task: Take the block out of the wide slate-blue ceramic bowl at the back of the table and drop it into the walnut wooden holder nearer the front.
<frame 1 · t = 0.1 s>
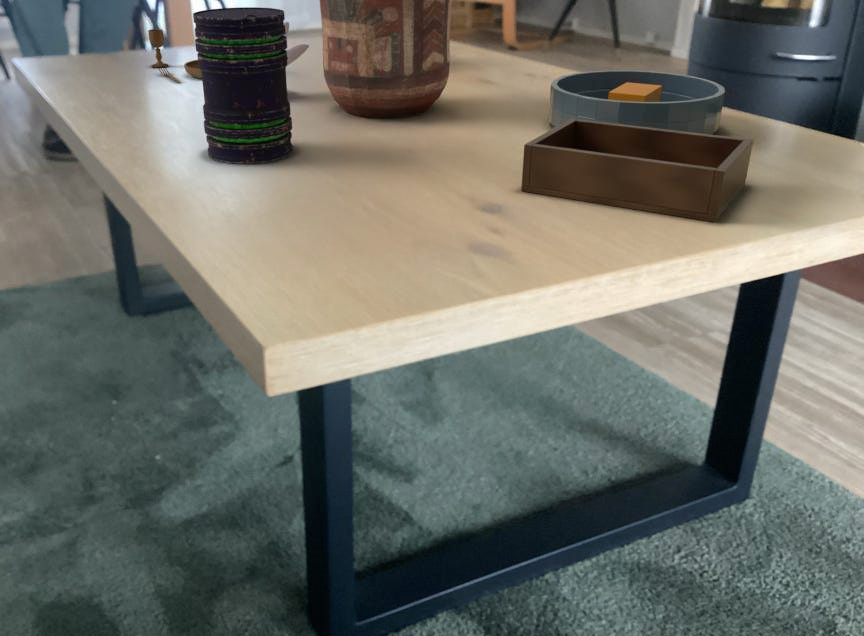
block: (631, 121, 108), point 1 cm above the table, touching bowl
pottery: (387, 110, 118), on the table
storage jar: (250, 153, 99), on the table
bowl: (631, 126, 108), on the table
holder: (633, 188, 85), on the table
place setting: (213, 71, 145), on the table
water lily: (263, 98, 126), on the table
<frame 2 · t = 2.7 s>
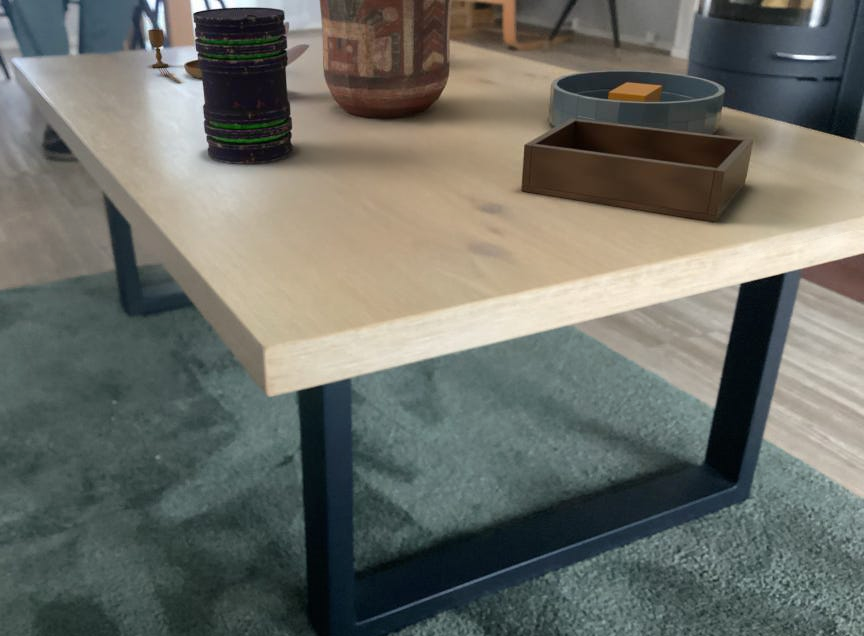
nothing on the table moved.
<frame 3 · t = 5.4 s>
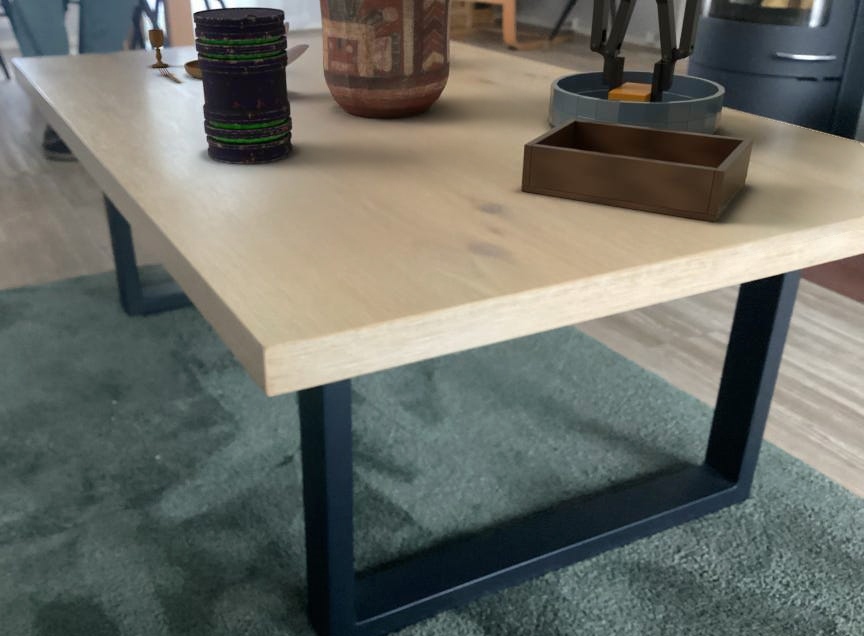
hand: (632, 114, 107), 1 cm above the table, tool pointing down, fingers closed on block, 4 cm apart
block: (631, 121, 108), point 1 cm above the table, touching bowl, gripper
everything else where it was.
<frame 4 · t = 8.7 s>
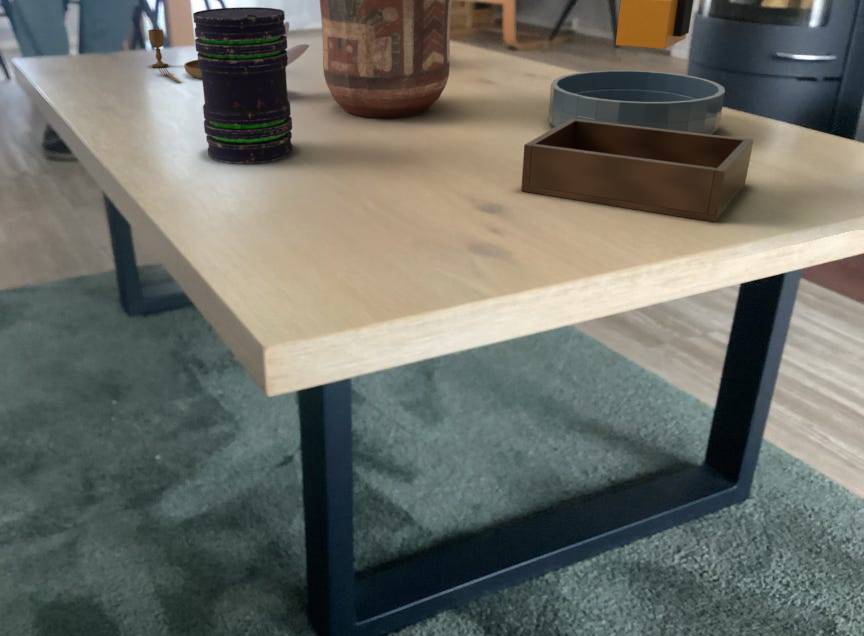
hand: (652, 31, 80), 14 cm above the table, tool pointing down, fingers closed on block, 4 cm apart
block: (651, 42, 81), point 13 cm above the table, touching gripper
everything else where it was.
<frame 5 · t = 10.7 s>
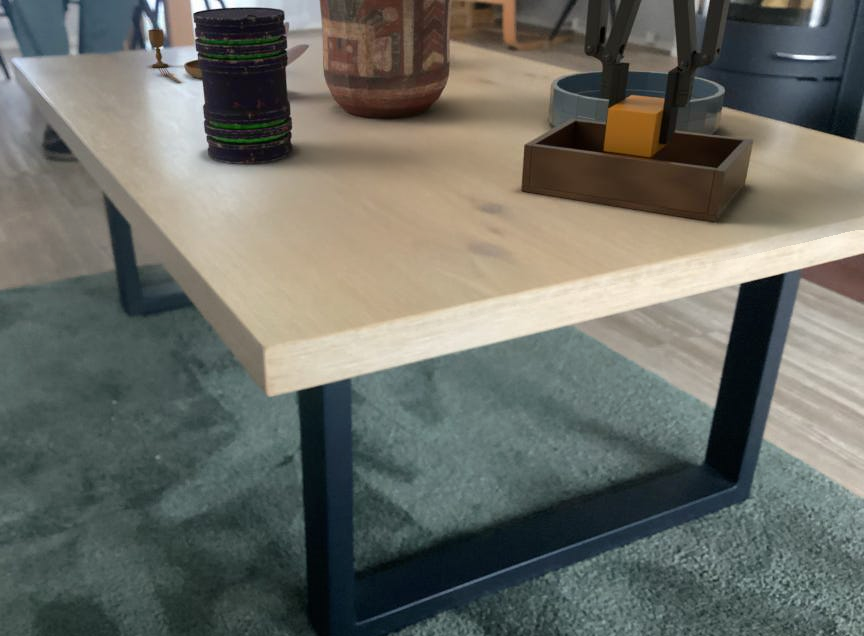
hand: (639, 136, 83), 5 cm above the table, tool pointing down, fingers closed on block, 4 cm apart
block: (637, 146, 83), point 4 cm above the table, touching gripper
everything else where it was.
when the fingers open (1 cm above the table, at t = 12.0 s): block stays where it is, resting on holder.
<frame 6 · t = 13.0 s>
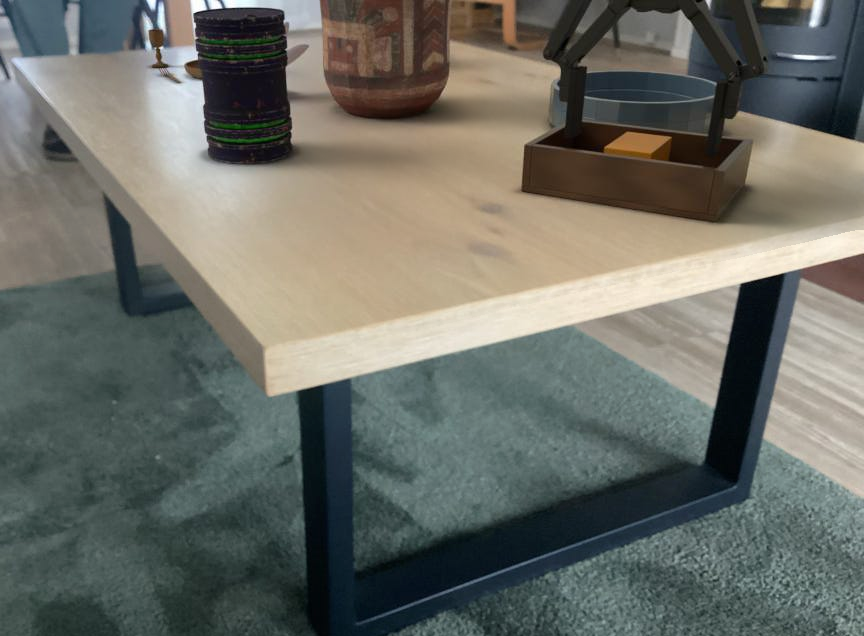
hand: (639, 144, 83), 4 cm above the table, tool pointing down, fingers open, 13 cm apart
block: (633, 182, 85), point 1 cm above the table, touching holder
everything else where it was.
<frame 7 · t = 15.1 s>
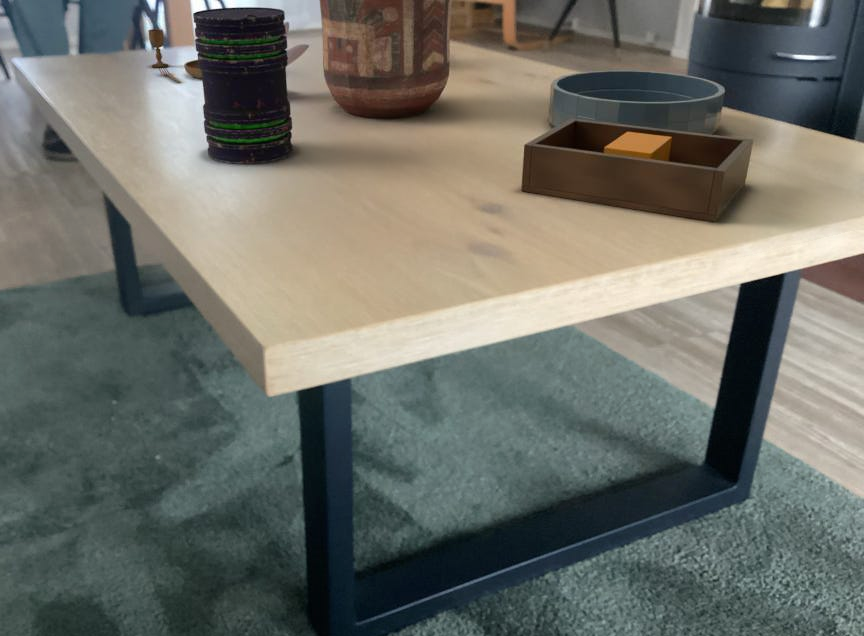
nothing on the table moved.
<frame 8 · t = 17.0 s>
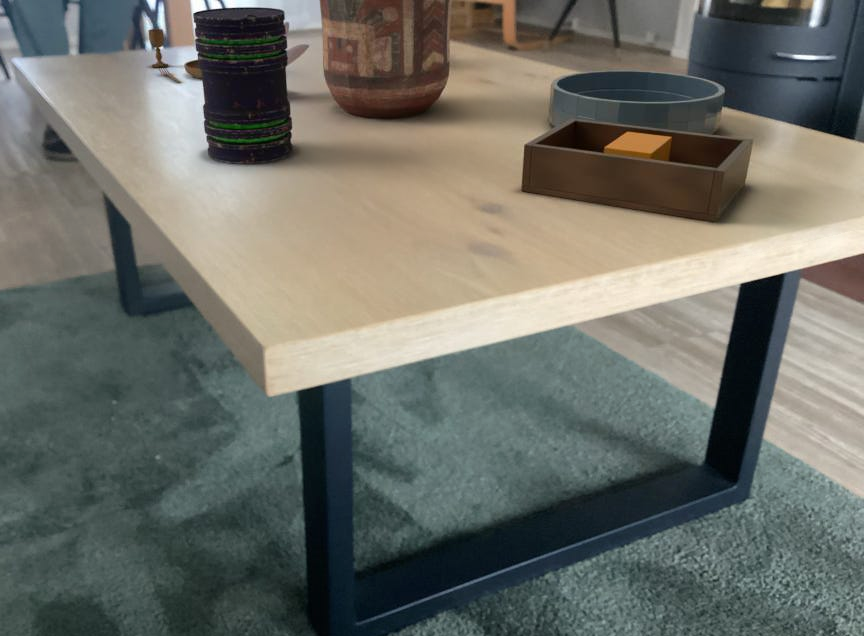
nothing on the table moved.
at the end: block inside the target area in the holder (0.1 cm from its centre), point 0.6 cm above the holder's base; the gripper is holding nothing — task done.
